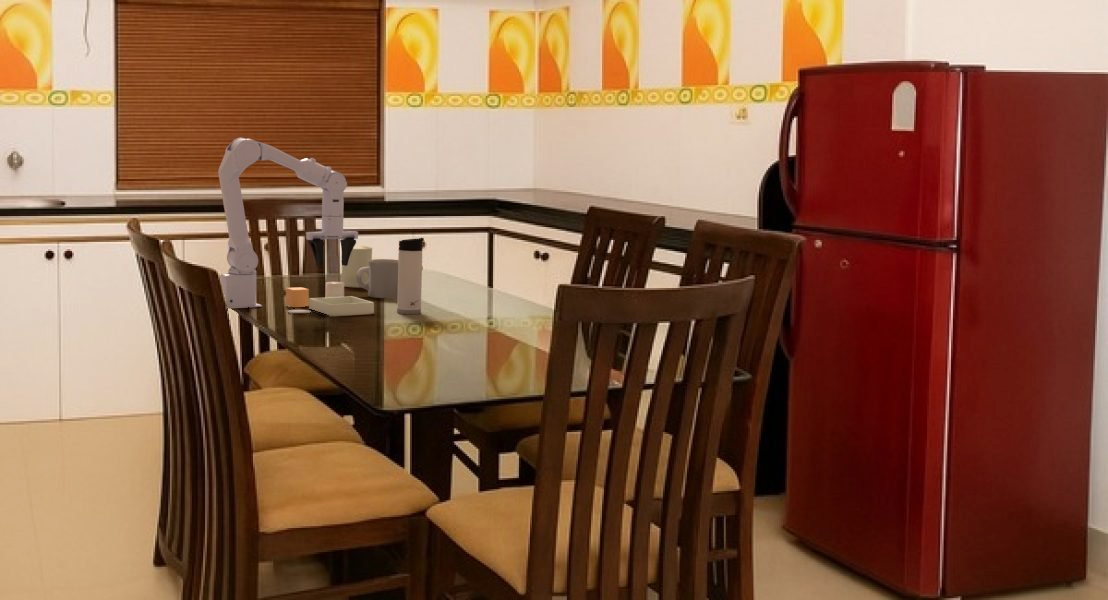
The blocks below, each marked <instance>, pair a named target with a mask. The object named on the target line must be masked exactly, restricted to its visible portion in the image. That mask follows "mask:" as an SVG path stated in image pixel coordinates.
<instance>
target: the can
mask: <svg viewBox="0 0 1108 600" xmlns="http://www.w3.org/2000/svg"><path fill="white" fill-rule="evenodd" d="M369 260H373V247H372V246H365V245H355V246H354V248H353V249H352V252H351V254H350V257H349V261H348V265H347V266H344V265H342V264H341V281H340V282H343V283H344V288H345V287H347V288H361V287H360V286H359V285H358V283H357V280H356V275H357V272H358V270H359V269H360V268H363V267H369V265H368V261H369ZM367 280H368V274H367V272H364V273H363V274H362V276H361V281H362V282H363V283H366V282H367Z"/></svg>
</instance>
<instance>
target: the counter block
mask: <svg viewBox="0 0 1108 600" xmlns="http://www.w3.org/2000/svg"><path fill="white" fill-rule="evenodd" d="M309 291H310V289H309V288H305V287H300V286H299V287H286V288H285V306H286V305H289V306H292V307H305V306H309V298H310V295H309V294H310V293H309Z"/></svg>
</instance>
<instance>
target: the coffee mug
mask: <svg viewBox="0 0 1108 600" xmlns="http://www.w3.org/2000/svg"><path fill="white" fill-rule="evenodd" d="M368 265H369V267H363V268H360V269H359V270H358V272H357V275H356V280H357V283H358V285H359V286H360V287H359V288H362V289H364V290H365V291H367V296H368V297H371V298H376V299H377V298H379V299H396V298H397V297H398V259H391V258H386V259H385V258H382V259H381V258H379V259H378V258H377V259H375V258H374V259H373V258H372V260H369V261H368ZM364 272H367V274H368V280H367V282H366V283H363V282H362V281H361V276H362V274H363V273H364Z"/></svg>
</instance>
